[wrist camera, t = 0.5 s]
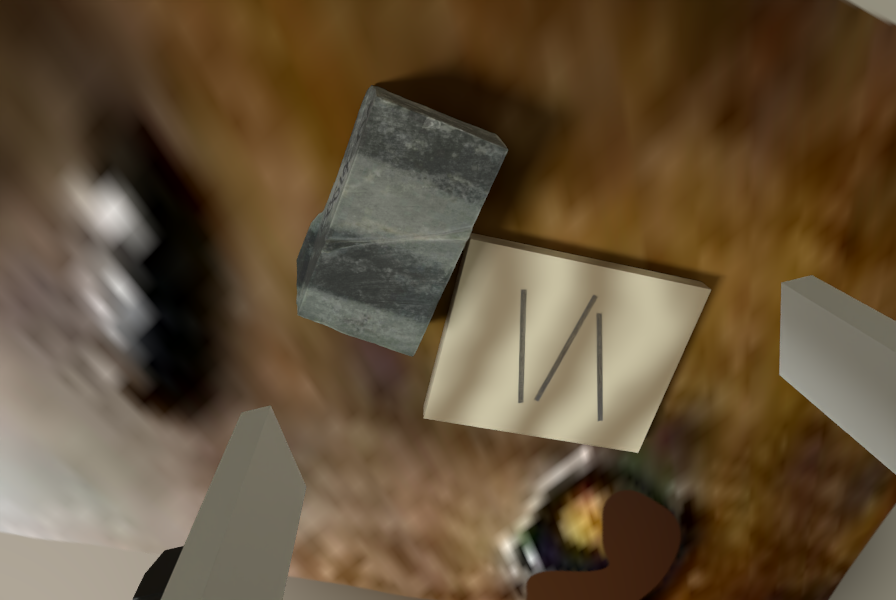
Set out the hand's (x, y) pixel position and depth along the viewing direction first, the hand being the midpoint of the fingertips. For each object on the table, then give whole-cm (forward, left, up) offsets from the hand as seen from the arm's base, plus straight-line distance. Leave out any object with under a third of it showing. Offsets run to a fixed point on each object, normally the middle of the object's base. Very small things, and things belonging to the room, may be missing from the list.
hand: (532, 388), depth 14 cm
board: (+10, -10, -24) cm, 28 cm away
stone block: (-4, -3, -24) cm, 25 cm away
